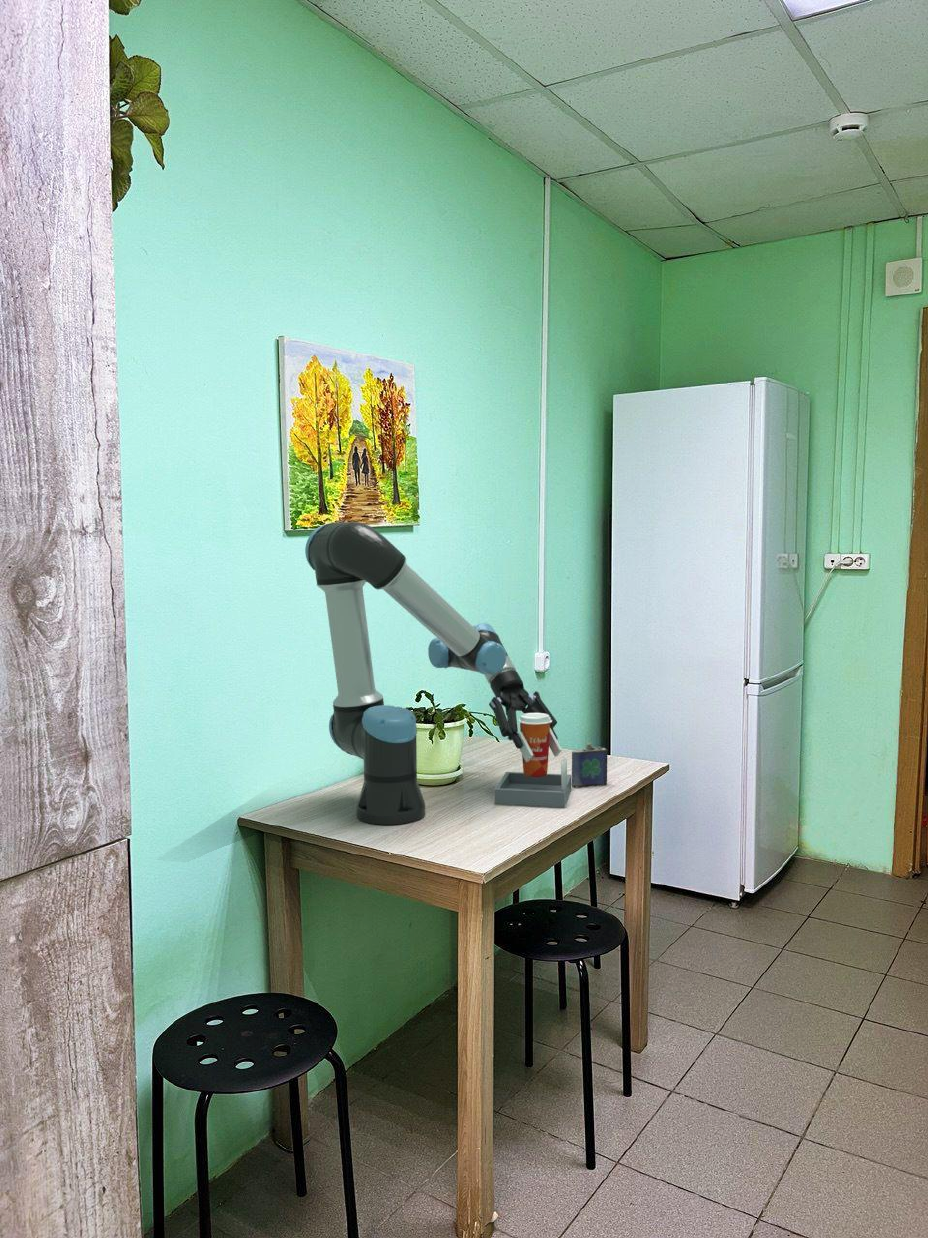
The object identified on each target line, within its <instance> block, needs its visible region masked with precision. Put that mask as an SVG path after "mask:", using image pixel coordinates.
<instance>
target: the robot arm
mask: <svg viewBox="0 0 928 1238" xmlns="http://www.w3.org/2000/svg"><path fill="white" fill-rule="evenodd" d="M304 549H305V552H304V554H305V558H306V561H307V563H308V565H309V566H310V568H311V569H312V570H313V571H314V573H315V578H316V586H317V587H318V588H319V589H321V590H322V591H323V592H324V595H325V602H326V603H325V604H326V610H327V611H326V612H327V616H328V617H327V618H328V625H329V627H328V628H329V632H330V633H329V634H330V641H331V648H332V654H333V662H334V663H333V664H334V672H335V679H336V687H337V693H338V694H337V696H336V697H335V698H334V699H333V701H332V707H333V712H332V715H330V717H329V722H328V731H329V735H330V738H331V740H332V742H333V743H334V744H335V746H336V747H338V748H339V749H340V750H341V751H342V752H345V754H349V755H351V756H355V757H357V758H359V759H362V760H363V784H362V787H361V790H360V793H359V798H358V801H357V804H356V818H357V819H358V820H360V821H362V822H364V823H368V824H372V825H402V824H407V823H412V822H416V821H419V820H420V819H422V818H424V817H425V816H426V801H425V800H424V796H423V793H422V791H421V787H420V785H419V782H418V770H417V769H418V768H417V766H418V763H417V762H418V759H417V757H418V756H417V748H418V747H417V734H418V727H417V721H416V719H417V718H416V716H415V714H414V712H412V711H411V710H409V709H407V708H405V707H402V706H395V705H391V704H390V705H388V704H387V705H385V702H384V696H383V694H382V693H380V692H379V691H378V690H377V689H376V684H375V676H374V667H373V660H372V659H373V658H372V653H371V644H370V636H369V628H368V619H367V612H366V605H365V595H364V586H365V585H366V583H368V584H369V585H371V587H373V589H375V590H383V591H384V592H386V593H387V594H388V595H389V596H390V597H391V599H393V600H394V601H395V602H396V603H397V604H399V606H401V607H402V608H403V609H404V610H406V611H407V613H409V614H410V615H411V616H413V618H414V619H416V621H417V622H419V623H420V624H421V625H422V626H423V627H425V628H426V629H427V630H428V631H429V632H430V633H431V634H433V636H434V638H433V639H431V641H429V644H428V651H427V652H428V653H427V654H428V659H429V662H430V664H431V665H432V667H434V668H436V669H447V668H456V669H461V670H466V671H471V672H476V673H478V674H479V673H480V674H481V675H484V677H485V679H486V681H487V683H488V684H489V685H490V686H489V687H490V688H491V690H492V693H493V694H494V696H493V697H492V698H491V700H490V702H489V703H488V706H489V707H490V708H491V710H492V711H493V714H494V718H495V720H496V723H497V726H498V729H499V731H500V734H501V736H502V738H506V737H507V739H508V740H509V741H512V743H513V744H514V746H515V747H516V749H517V750H518V749H519V751H520V752H521V756H522V755H523V757H524V759H525V761H526V762H529V761H530V759H531V758H532V757H533V753H532V751H531V749H530V747H529V745H528V743H527V741H526V739H525V737H524V735H523V733H522V732H520V731H519V728H518V718H517V711H519V712H522V713H523V714H526V713H544V714H548V715H549V717H550V718H551V720H552V722H551V723H550V736H549V749H550V751H551V752H552V754H553V756H554V758H555V757H558V756H559V754H561V752H562V751H563V748H562V747H561V745H560V743H559V741H558V739H559V737H558V736H557V734H556V732H555V730H554V729H555V726H556V725H557V724H558V721H557V720H556V718H555V717H554V715H553V714H552V711H550V709H549V708H548V707H547V705H546V704H545V703H544V701H543V699H541V695H540V693H539V692H538V691H537V690H536V691H533V693H530V692H528V691H527V690H526V689H525V687H524V682H523V680H522V678H521V676H520V674H519V673H518V671H517V669H516V667H515V665H514V664H513V662H512V660H511V658H510V657H509V655H508V652H507V651H506V649H505V647H504V644H503V643H502V641H501V639H500V637H499V635H498V633H497V632H496V630H495V629H494V627H493V626H492V625H491V624H489V623H487V622H486V623H485V622H481V623H478V624H477V625H472V624H471V623H470V622H469V621H468V620H467V619H465V617H464V616H463V615H461V614H460V613H459V612H458V611H457V610H456V608H454V607H453V606H452V605H451V604H450V603H449V602H447V600H445V598H443V597H442V596H441V595H440V594H439V593H438V592H437V591H436V590H435V589H434V588H432V586H430V584H429V583H427V582H426V581H425V580H424V579H423V578H422V577H421V576H420V575H419V574H418V573H417V572H416V571H415V570H413V569H412V568H411V567H410V566H409V564H407V557H406V556H405V554H404V553H403V552H401V551H400V550H399V549H398V548H397V547H396V546H395V545H394V544H392V542H390V541H389V540H388V539H387V538H386V537H385V536H384V535H383V534H382V533H380V532H379V531H378V530H376V529H375V528H373V527H372V526H370V525H368V524H366V523H364V522H363V523H362V522H361V521H359V522H358V521H350V522H339V521H338V522H329V523H326V524H322V525H320V526H319V527H317V528H315V529H314V530H313V531H312V532H311V534H310V535H309V536H308V539H307V540H306V544H305V548H304ZM504 708H505V711H504Z"/></svg>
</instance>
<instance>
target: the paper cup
mask: <svg viewBox="0 0 928 1238" xmlns="http://www.w3.org/2000/svg"><path fill="white" fill-rule="evenodd" d="M518 722H519V726H520V728H519V730H520V731H519V732H522V733H523V735H524V737H525V739H526V741H527V743H528V745H529V747H530V749H531V751H532V753H533V757H532V758H531V759H530V761H529V762H526V761H525V759H524V757H523V755H522V754H521V757H522V760H521V761H522V773H524V775H525V776H529V777H543V776H546V775H547V774H548V769H549V751H550V750H549V749H550V747H549V736H550V723H551V722H552V720H551V718H550V717H549V715H548V714H544V713H526V714H524V713H523V714H521V716H520V717H519V719H518Z"/></svg>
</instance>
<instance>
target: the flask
mask: <svg viewBox="0 0 928 1238" xmlns="http://www.w3.org/2000/svg"><path fill="white" fill-rule="evenodd" d="M584 744H586V746H585V748H584V749H575V750H572V751H571V788H572V787H573V788H579V789H581V788H590V787H589V786H592V787H597V786H599V787H601V786H603V785H605V786H607V785H608V753H609V751H608V748H605V747H601V746H593V745H592V742H591V741H586V742H585V743H584Z"/></svg>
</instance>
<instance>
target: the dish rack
mask: <svg viewBox="0 0 928 1238" xmlns="http://www.w3.org/2000/svg"><path fill="white" fill-rule="evenodd" d="M493 790H494V792H493V793H494V794H493V795H494V797H493V799H494V800H493V801H494V802H493V803H494V805H501V806H502V805H505V806H519V807H520V806H521V807H538V808H539V807H541V808H542V807H543V808H558V809H559V807H560V809H565V808H566V805H567V802H568V800H569V797H570V794H571V791H572V774H568V757H567V756H564V757H563V759H562V760H561V762H560V773H547V775H546V776H543V777H529V776H525V775H524V772H523V771H521V772H520V771H519V772H518V771H516V772H515V771H506V772H504V774H503V776H502V777H501V779H500V781H499V782H498V783H497V785H496V786H495V788H494V789H493ZM568 796H569V797H568ZM567 799H568V800H567Z"/></svg>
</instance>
